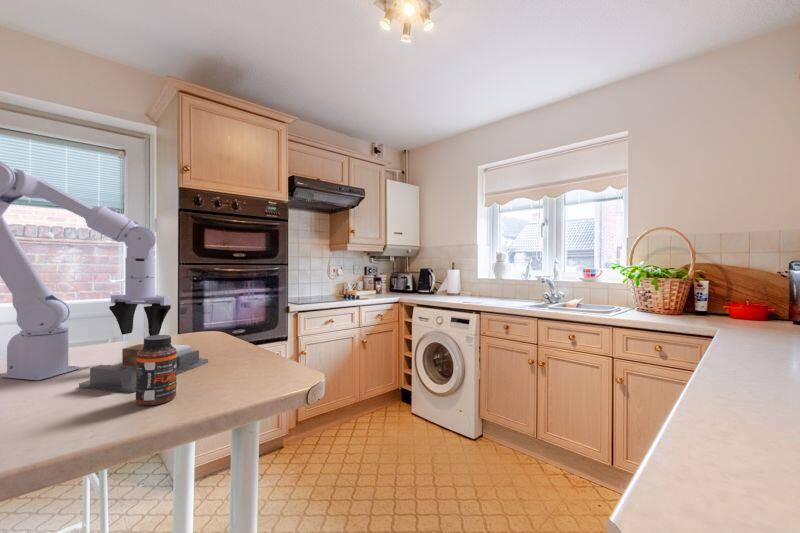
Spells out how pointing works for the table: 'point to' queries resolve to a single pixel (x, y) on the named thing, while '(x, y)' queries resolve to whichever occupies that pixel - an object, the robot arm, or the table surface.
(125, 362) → the block
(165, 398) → the supplement bottle
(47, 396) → the table surface
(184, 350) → the ram
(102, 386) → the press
